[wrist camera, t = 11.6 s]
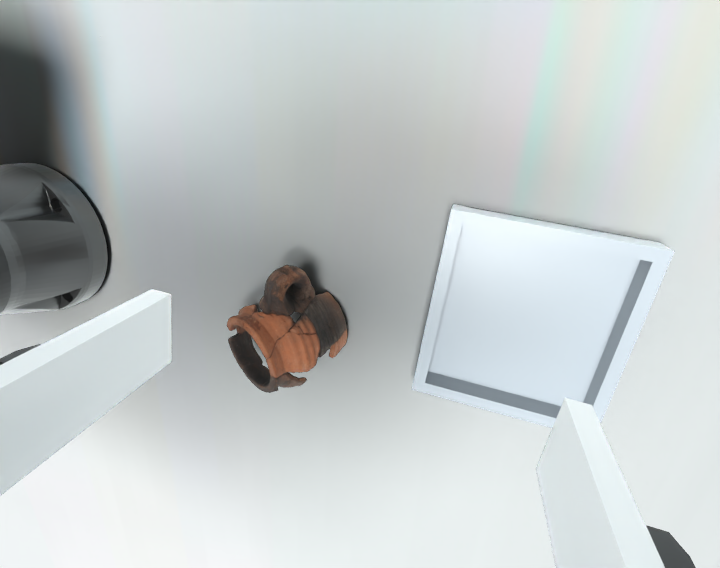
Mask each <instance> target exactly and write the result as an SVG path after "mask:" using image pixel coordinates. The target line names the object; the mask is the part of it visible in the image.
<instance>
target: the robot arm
mask: <svg viewBox="0 0 720 568" xmlns="http://www.w3.org/2000/svg"><path fill="white" fill-rule="evenodd" d="M107 262H108V255H107V245H106V240H105V236H104V232H103V229H102V226H101V224H100V221H99V219H98V217H97V215H96V213H95V211H94V209H93V208H92V206H91V204H90V203H89V201H88V200H87V199H86V197H85V196H84V195H83V193H82V192H81V191H80V190H79V189H78V188H77V187H76V186H75V185H74V184H73V183H72V182H71V181H70V180H68V179H67V178H66V177H65V176H63V175H62V174H60V173H59V172H57V171H55V170H53V169H51V168H49V167H47V166H44V165H40V164H36V163H16V164H4V165H0V315H6V314H18V313H30V312H42V311H54V310H61V309H65V308H68V307H70V306H73V305H75V304H78V303H80V302H82V301H85V300H87V299H89V298H90V297H91V296H93V295H94V294H95V293H96V292H97V291H98V289H99V288H100V286H101V285H102V283H103V280H104V278H105V274H106V270H107ZM171 362H172V323H171V294H169V293H165V292H161V291H158V290H154V289H151V290H149V291H147V292H145V293H143V294H141V295H139V296H137V297H135V298H133V299H131V300H129V301H127V302H125V303H123V304H121V305H119V306H117V307H115V308H113V309H111V310H109V311H107V312H105V313H103V314H101V315H99V316H97V317H95V318H93V319H91V320H89V321H87V322H85V323H83V324H81V325H79V326H77V327H75V328H73V329H71V330H69V331H67V332H65V333H63V334H61V335H59V336H57V337H55V338H53V339H51V340H49V341H47V342H45V343H43V344H39V345H35V346H32V347H28V348H25V349H21V350H18V351H15V352H13V353H11V354H9V355H7V356H5V357H3V358H1V359H0V496H1V495H2V494H3V493H4V492H6V491H7V490H8V489H10V488H11V487H12V486H13V485H15V484H16V483H17V482H19V481H20V480H21V479H22V478H24V477H25V476H26V475H27V474H29V473H30V472H31V471H33V470H34V469H35V468H36V467H38V466H39V465H40V464H42V463H43V462H44V461H45V460H47V459H48V458H49V457H50V456H52V455H53V454H54V453H56V452H57V451H58V450H59V449H61V448H62V447H63V446H65V445H66V444H67V443H68V442H70V441H71V440H72V439H74V438H75V437H76V436H77V435H79V434H80V433H81V432H82V431H84V430H85V429H86V428H88V427H89V426H90V425H91V424H93V423H94V422H95V421H97V420H98V419H99V418H100V417H102V416H103V415H104V414H105V413H107V412H108V411H109V410H111V409H112V408H113V407H114V406H116V405H117V404H118V403H120V402H121V401H122V400H123V399H125V398H126V397H127V396H129V395H130V394H131V393H132V392H134V391H135V390H136V389H137V388H139V387H140V386H141V385H143V384H144V383H145V382H146V381H148V380H149V379H150V378H152V377H153V376H154V375H155V374H157V373H158V372H159V371H160V370H162V369H163V368H164V367H166V366H167V365H168V364H169V363H171ZM536 471H537V476H538V481H539V486H540V491H541V496H542V501H543V506H544V511H545V516H546V521H547V526H548V531H549V536H550V541H551V546H552V551H553V556H554V561H555V566H556V568H695V566H694V564H693V562H692V560H691V558H690V556H689V555H688V554H687V553H686V552H685V550H684V549H683V548H682V547H681V546H680V545H679V543H678V542H677V541H676V540H675V539H674V538H673V537H672V535H671V534H670V533H669V532H666V531H663V530H660V529H656V528H653V527H650V526H646V524H645V522H644V520H643V518H642V515H641V513H640V511H639V509H638V506H637V504H636V502H635V500H634V498H633V495H632V493H631V491H630V489H629V486H628V484H627V482H626V480H625V477H624V475H623V473H622V471H621V469H620V466H619V464H618V462H617V460H616V457H615V455H614V453H613V451H612V449H611V446H610V444H609V442H608V440H607V437H606V435H605V433H604V431H603V428H602V426H601V424H600V422H599V420H598V417H597V415H596V413H595V411H594V408H593V406H592V405H590V404H587V403H583V402H579V401H575V400H571V399H568V398H565V399H564V401H563V404H562V406H561V408H560V411H559V413H558V416H557V418H556V421H555V423H554V425H553V428H552V430H551V433H550V435H549V438H548V440H547V443H546V445H545V447H544V450H543V452H542V455H541V457H540V460H539V462H538V464H537V467H536Z"/></svg>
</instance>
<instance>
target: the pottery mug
mask: <svg viewBox="0 0 720 568" xmlns="http://www.w3.org/2000/svg"><path fill="white" fill-rule="evenodd" d="M259 306H260V309H261V310H262V312H258V310H257V306H256V305H254V304H253V305H249V306H245V307H243V308H242V309H241V310H240V311H239V313H238V315H237V316H232V317H231V318H229V319H228V322H227V327H228V329H229V330H230V331H232V330H234V329H237V334H236V335H234V336H232V337H230V338H229V339H228V341H229V344H230V348H231V350H232V353H233V355H234V357H235V359H236V361H237V362H238V364H239V366H240V367H241V369H242V370H243V372H244V373H245V374H246V376H247V377H248V378H249V379H250V381H251V382H252V383H253V384H254V385H255V386H256V387H257V388H259V389H260V390H262V391H264V392H269V393H270V392H274V391H278V386H280V387H294V386H300V385H302V384H303V383H305V382H306V380H307V379H306V378H304V377H302V378H297V377H295V376H293V375H291V374H290V373H289V372H292V373H295V372H308V371H309V370H310V369H312V368H313V367H314V366H315V365H316V363H317V358H318V357H321V356H322V355H323V354H325V353H326V351H327V350H328V349H330V353H329V356H330V357H331V358H333V357H335V356H336V355H337V354H338V353H339V351H340V350H341V349H342V347H344V346H345V344H346V341H347V325H346V321H345V317H344V315H343V312H342V310H341V308H340V306H339V304H338V303H337V301H336V300H335V299H334V298H333V296H332V295H331V294H330V293H329V292H325V293H323V294H318V295H315V290H314V288H313V287H312V286H311V282H310V279H309V278H308V276H307V274H306V273H305V272H304V271H303V270H302V269H300V268H298V267H294V266H289V265H285V266H283V267H281V268H278V269H277V270H275V271H274V272H273V273H272V274H271V275H270V276H269V278H268V279H267V281H266V284H265V291H264V296H263V297H262V299H261V300H260V302H259ZM293 312H298V313H301V316H300V318H299V319H298V320H297V322H294V321H293V319H292V317H291V316H290V315H291V314H292V313H293ZM251 337H252V338H253V339H254V341H255V342H256V343H257V345H258V346H259V348H260V349H261V351H262V353H263V355H264V357H265V358H266V362H267V365H268V368H269V369H268V368H266V367H265V366H263V365H262V363H263V362H262V359H261V358H260V356H259V355H258V353H257V352H256V350H255V348H254V347H253V343H252V338H251Z"/></svg>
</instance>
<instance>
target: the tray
mask: <svg viewBox="0 0 720 568" xmlns="http://www.w3.org/2000/svg"><path fill="white" fill-rule="evenodd" d="M674 252H675V251H674V250H672V249H670V248H669V247H667V246H665V245H664V244H662V243H661V242H655V241H650V240H644V239H639V238H634V237H628V236H623V235H617V234H612V233H607V232H601V231H596V230H590V229H585V228H580V227H574V226H569V225H563V224H558V223H553V222H547V221H542V220H536V219H531V218H526V217H520V216H515V215H509V214H504V213H499V212H493V211H488V210H483V209H477V208H472V207H466V206H461V205H456V204H453V206H452V209H451V213H450V217H449V222H448V226H447V231H446V235H445V240H444V244H443V249H442V253H441V258H440V263H439V267H438V272H437V276H436V281H435V285H434V290H433V294H432V299H431V303H430V308H429V312H428V317H427V321H426V326H425V331H424V335H423V340H422V344H421V349H420V353H419V358H418V362H417V367H416V371H415V376H414V380H413V385H412V389H411V390H415V391H419V392H422V393H426V394H430V395H433V396H437V397H441V398H444V399H448V400H451V401H455V402H459V403H462V404H466V405H470V406H473V407H477V408H481V409H484V410H488V411H492V412H495V413H499V414H502V415H506V416H510V417H513V418H517V419H521V420H524V421H528V422H532V423H535V424H539V425H542V426H546V427H550V428H553V425H554V423H555V421H556V418H557V416H558V413H559V411H560V408H561V406H562V404H563V401H564V399H565V398H568V399H571V400H575V401H579V402H583V403H587V404H590V405H592V406H593V408H594V411H595V413H596V415H597V417H598V420H599V422H600V424H601V422H602V419H603V417H604V415H605V412H606V410H607V408H608V405H609V403H610V401H611V398H612V396H613V394H614V391H615V389H616V387H617V384H618V382H619V380H620V377H621V375H622V373H623V370H624V368H625V366H626V363H627V361H628V359H629V357H630V354H631V352H632V350H633V347H634V345H635V343H636V340H637V338H638V336H639V333H640V331H641V329H642V326H643V324H644V322H645V319H646V317H647V315H648V312H649V310H650V308H651V305H652V303H653V301H654V298H655V296H656V294H657V291H658V289H659V287H660V284H661V282H662V280H663V277H664V275H665V273H666V270H667V268H668V266H669V263H670V261H671V259H672V257H673V254H674Z"/></svg>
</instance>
